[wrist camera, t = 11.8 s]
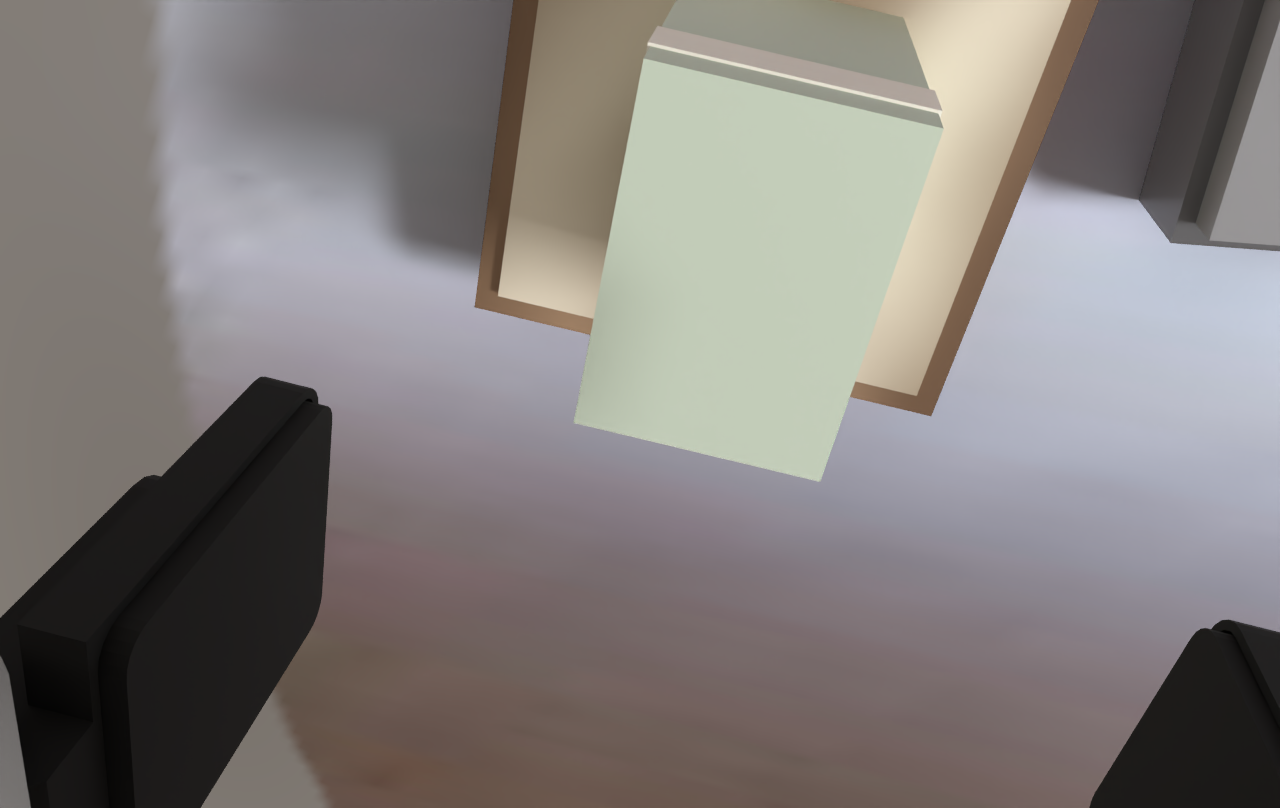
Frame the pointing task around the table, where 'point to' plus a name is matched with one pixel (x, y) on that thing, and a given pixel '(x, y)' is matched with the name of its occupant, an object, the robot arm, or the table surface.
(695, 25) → the carton
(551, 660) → the table surface
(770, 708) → the table surface
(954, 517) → the table surface
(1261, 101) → the gray box
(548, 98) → the wooden tray
